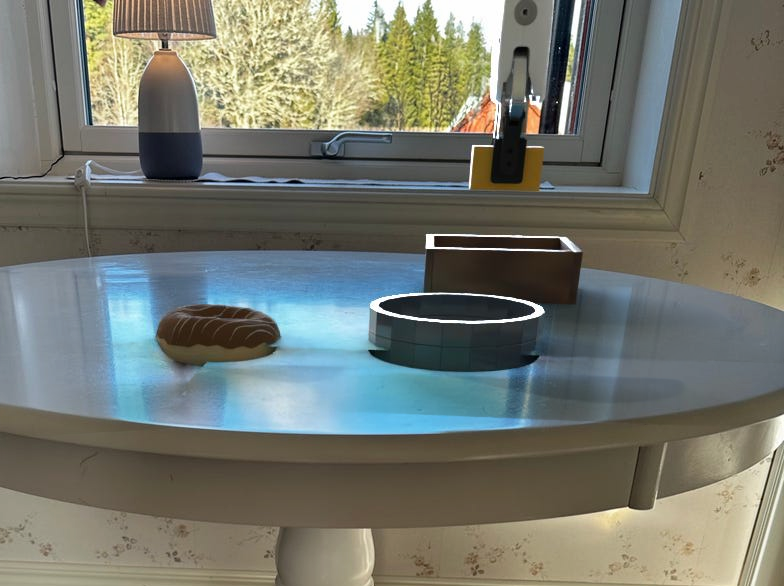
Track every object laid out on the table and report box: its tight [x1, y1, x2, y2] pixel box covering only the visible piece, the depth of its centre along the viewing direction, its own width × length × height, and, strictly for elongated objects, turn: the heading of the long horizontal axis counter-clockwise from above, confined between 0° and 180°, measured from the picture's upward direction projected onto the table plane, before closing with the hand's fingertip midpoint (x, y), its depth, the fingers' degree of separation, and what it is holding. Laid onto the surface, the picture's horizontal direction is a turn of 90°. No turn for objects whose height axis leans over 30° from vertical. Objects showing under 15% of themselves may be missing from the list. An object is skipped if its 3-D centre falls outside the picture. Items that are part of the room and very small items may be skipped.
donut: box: [155, 303, 282, 368], centre depth 81 cm, size 11×11×4 cm
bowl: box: [367, 292, 546, 373], centre depth 81 cm, size 14×14×4 cm
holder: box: [422, 233, 584, 306], centre depth 104 cm, size 16×14×7 cm
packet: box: [468, 144, 545, 192], centre depth 99 cm, size 7×4×4 cm, turn 83°
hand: (504, 179), depth 99 cm, fingers closed on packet, 4 cm apart
